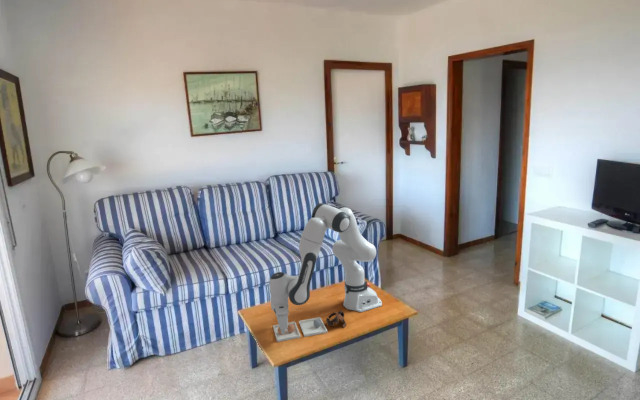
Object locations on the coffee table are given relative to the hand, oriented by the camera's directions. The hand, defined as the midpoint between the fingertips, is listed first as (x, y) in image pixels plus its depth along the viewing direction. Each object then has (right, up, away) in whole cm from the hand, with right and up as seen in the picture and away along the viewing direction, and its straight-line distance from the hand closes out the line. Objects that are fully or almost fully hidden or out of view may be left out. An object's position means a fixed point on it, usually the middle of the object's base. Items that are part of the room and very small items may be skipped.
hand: (281, 328), depth 198 cm
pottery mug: (+29, -1, +7) cm, 30 cm away
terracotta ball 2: (+5, -2, +2) cm, 6 cm away
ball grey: (+18, -1, +5) cm, 19 cm away
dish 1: (+3, -3, +1) cm, 4 cm away
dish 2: (+16, -2, +5) cm, 17 cm away
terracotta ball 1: (0, -3, +1) cm, 3 cm away
